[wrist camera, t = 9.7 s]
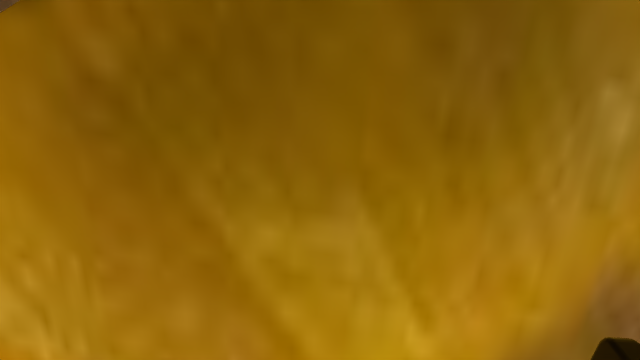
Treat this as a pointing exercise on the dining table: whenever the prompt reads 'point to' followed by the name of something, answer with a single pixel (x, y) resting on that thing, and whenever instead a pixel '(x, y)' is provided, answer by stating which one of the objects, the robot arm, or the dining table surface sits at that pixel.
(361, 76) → the dining table surface
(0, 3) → the walnut batten
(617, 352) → the robot arm
